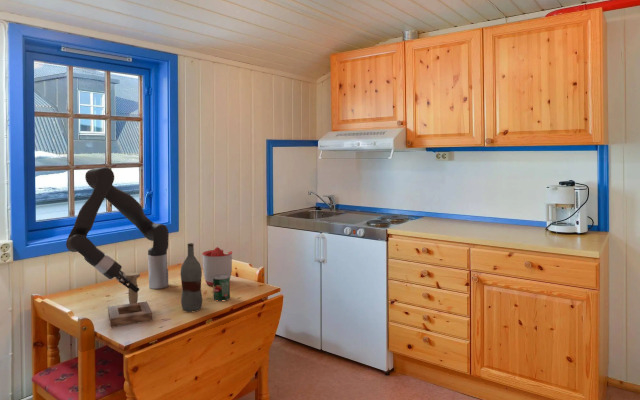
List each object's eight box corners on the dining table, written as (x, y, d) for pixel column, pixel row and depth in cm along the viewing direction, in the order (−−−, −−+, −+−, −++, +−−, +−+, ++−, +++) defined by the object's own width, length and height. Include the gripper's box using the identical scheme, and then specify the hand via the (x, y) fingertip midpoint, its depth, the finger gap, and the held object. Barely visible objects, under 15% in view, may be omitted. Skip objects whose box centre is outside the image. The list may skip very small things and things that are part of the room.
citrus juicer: (240, 281, 253) (240, 245, 250) (217, 289, 238) (217, 251, 236) (220, 277, 261) (219, 242, 259) (196, 284, 246) (195, 247, 244)
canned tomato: (233, 297, 226) (232, 275, 225) (224, 302, 219) (224, 279, 218) (218, 295, 229) (218, 273, 228) (210, 300, 221) (209, 277, 220)
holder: (147, 308, 209) (146, 301, 208) (152, 320, 195) (152, 312, 194) (108, 314, 201) (108, 306, 201) (110, 327, 187) (110, 318, 187)
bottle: (188, 314, 203) (187, 246, 199) (177, 309, 209) (175, 243, 205) (206, 308, 210) (205, 243, 206) (195, 304, 216) (193, 240, 212)
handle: (126, 304, 214) (125, 273, 212) (141, 303, 216) (140, 272, 214) (125, 308, 209) (124, 275, 208) (140, 306, 211) (139, 274, 210)
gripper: (115, 263, 200) (145, 286, 207) (112, 256, 213) (141, 278, 220) (102, 277, 198) (133, 300, 205) (100, 269, 211) (129, 291, 218)
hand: (137, 288), depth 213 cm, fingers open, 5 cm apart
